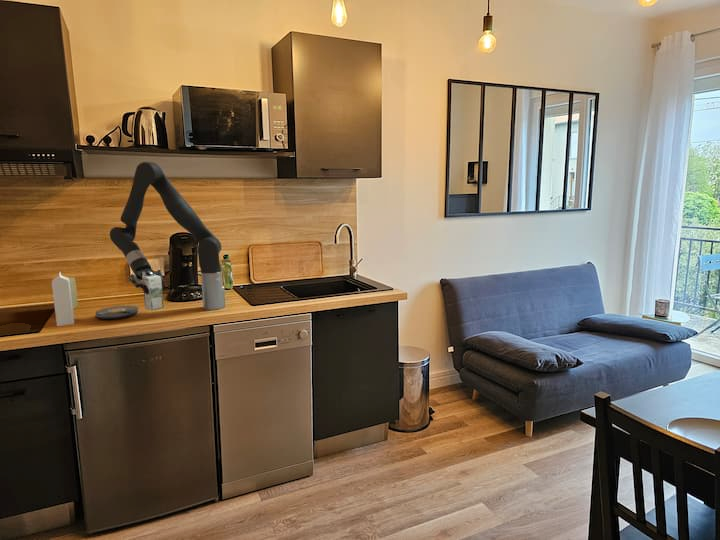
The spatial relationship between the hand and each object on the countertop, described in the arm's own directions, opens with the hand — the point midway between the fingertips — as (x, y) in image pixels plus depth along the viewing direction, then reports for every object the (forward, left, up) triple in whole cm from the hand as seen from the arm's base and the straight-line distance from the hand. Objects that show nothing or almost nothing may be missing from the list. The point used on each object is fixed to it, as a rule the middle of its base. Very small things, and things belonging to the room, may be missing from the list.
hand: (155, 291), depth 212 cm
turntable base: (+9, -17, -12) cm, 22 cm away
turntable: (+9, -17, -11) cm, 22 cm away
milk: (+28, -23, -12) cm, 38 cm away
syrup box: (0, -2, -8) cm, 8 cm away
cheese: (+21, -43, -12) cm, 49 cm away
